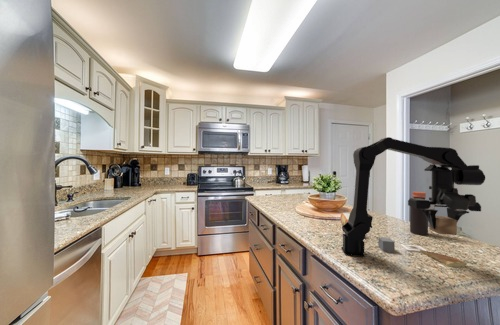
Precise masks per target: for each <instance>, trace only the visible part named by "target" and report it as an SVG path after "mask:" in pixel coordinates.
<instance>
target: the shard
mask: <svg viewBox="0 0 500 325" xmlns="http://www.w3.org/2000/svg"><path fill="white" fill-rule="evenodd" d="M420 251H421V252H420V253H421V254H423V255H425V256H427V257H429V258H431V259H433V260H435V261H437V262H439V263H440V264H442V265H444V266H447V267H448V266H449V267H458V266H463V268H464V267H465V268H466V266H467V262H465V261H463V260H461V259H459V258H457V257H453V256H449V255H446V254H445V255H444V254H441V253H436V252H432V251H428V250H427V251H424V250H420Z"/></svg>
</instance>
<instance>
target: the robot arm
mask: <svg viewBox="0 0 500 325" xmlns="http://www.w3.org/2000/svg"><path fill="white" fill-rule="evenodd" d="M387 150H388V151H392V152H396V153H400V154H404V155H409V156H413V157H418V158H419V159H422V160H423V161H425V162H427V163H430V164H429V166H428V167H427V166H426V168H424V172H431V185H429V186H428V189H429V190H431V197H428V199H426V198H425V199H421V198H414V197H412V198H411V197H409V199H408V200H407V206H409V207H410V206H412V207H415V208H419V209H421V210H422V211H423V213H424V214H425V216H426V218H427V219H428V224H429V223H430V225H431V227H432V228H433V229H435V226H436V218H435V216H436V214H437V213H438V212H439V210H437V209H435V207H436V208H437V207H438V208H446V213H447V216H446V217H449V218H452V219H455V220H457V223H458V221H459V220H460V218H462V216H464V215H465V214H470V212H482V206H481V204H480V203H479V202H477V199H476V196H475V194H471V193H469V194H468V193H467V194H459V189H458V188H455V185H458V186H459V185H461V186H463V185H464V186H465V185H466V186H481V185H483V184H484V183H485V180H486V175H485V173H484V171H483V170H482V169H481V168H480V165H478V164H477V165H475V164H473V165H467V164H466V163H465V162H464V160H463V159H462V158H461V157H460V156H459V154H458V152H457V149H454V148H453V147H452V148H451V147H442V146H441V147H440V146H439V147H437V146H426V145H421V144H416V143H412V142H408V141H405V140H404V141H403V140H399V139H397V138H393V137H384V138H381V139H379V140H378V141H376V142H374V143H372V144H370V145H368V146H363V147H358V148H356V149H355V150H354V151H353V154H352V156H353V164H354V167H355V183H354V184H355V185H354V196H353V206H352V208H351V211H350V212H349V213H350V216H349V219H348V222H347V223H346V224H345V225H343V224H342V226H341V229H342V231H343V233H342V246H341V248H340V249H341V250H342V251H343V254H344V255H345V256H353V257H366V256H365V245H366V244H365V241H364V240H365V237H366V235H367V234H369V233H370V231H371V229H373V226H372V223H373V219H374V218H373V216H372V215H371V214H369V213H368V199H369V198H368V197H369V187H370V186H369V185H370V173H371V170H372V168H373V166H374V165H375V160H376V158H377V156H379V155H380V154H382V153H384V152H386V151H387Z"/></svg>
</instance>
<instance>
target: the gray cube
mask: <svg viewBox="0 0 500 325" xmlns="http://www.w3.org/2000/svg"><path fill="white" fill-rule="evenodd" d="M377 241H378V244H377V245H378V246H377V247H378V248H379V249H380V250H381V251H382V252H389V253H396V252H395V250H396V248H395V247H396V246H395V243H396V242H395V241H394V240H393V239H391V238H390V237H378V240H377Z"/></svg>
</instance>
